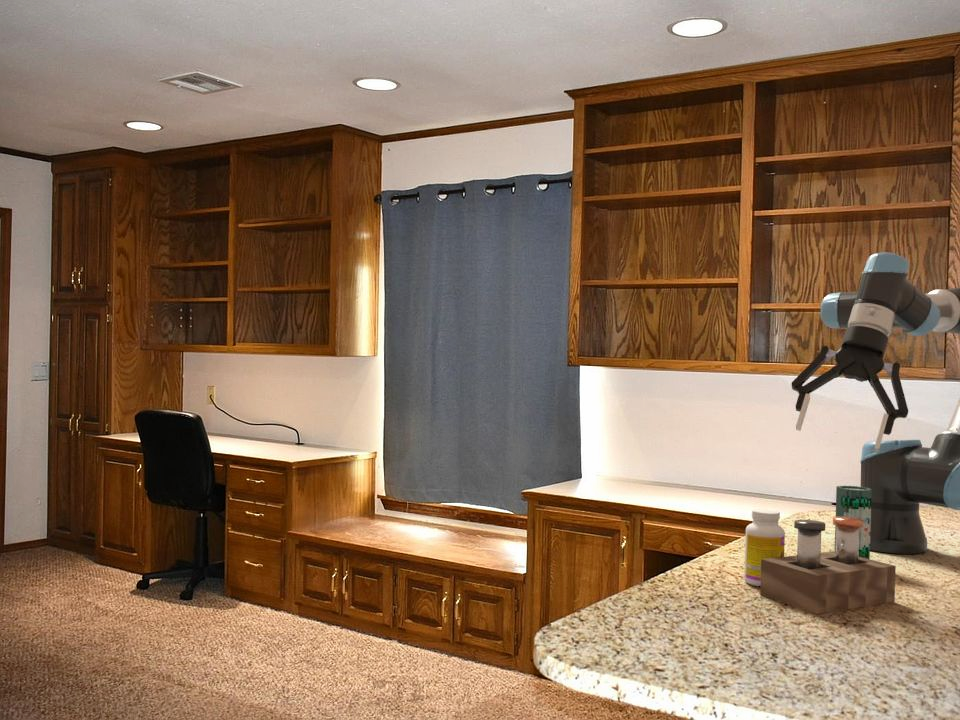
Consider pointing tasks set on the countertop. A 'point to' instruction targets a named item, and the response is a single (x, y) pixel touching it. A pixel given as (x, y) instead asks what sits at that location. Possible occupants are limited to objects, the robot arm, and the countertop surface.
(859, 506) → the can
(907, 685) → the countertop surface
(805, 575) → the wooden holder block
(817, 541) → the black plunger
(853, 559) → the rust plunger
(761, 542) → the supplement bottle
